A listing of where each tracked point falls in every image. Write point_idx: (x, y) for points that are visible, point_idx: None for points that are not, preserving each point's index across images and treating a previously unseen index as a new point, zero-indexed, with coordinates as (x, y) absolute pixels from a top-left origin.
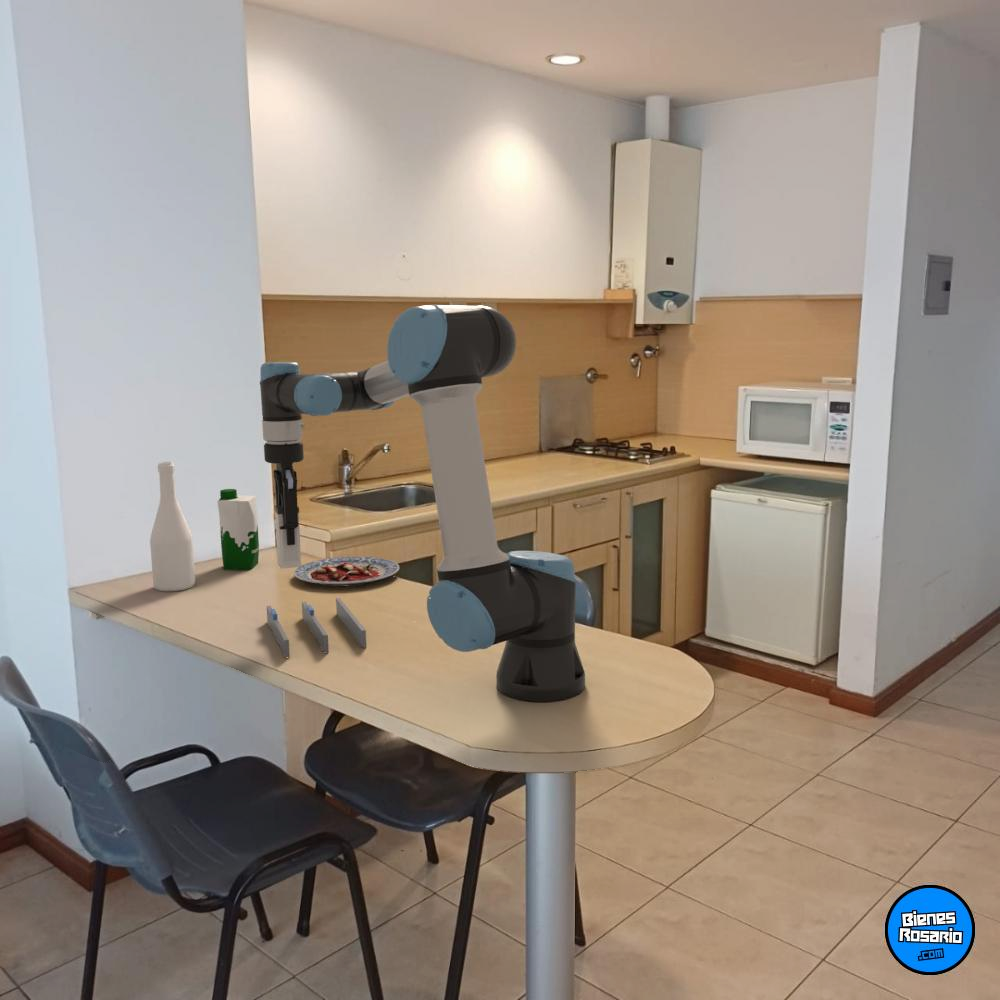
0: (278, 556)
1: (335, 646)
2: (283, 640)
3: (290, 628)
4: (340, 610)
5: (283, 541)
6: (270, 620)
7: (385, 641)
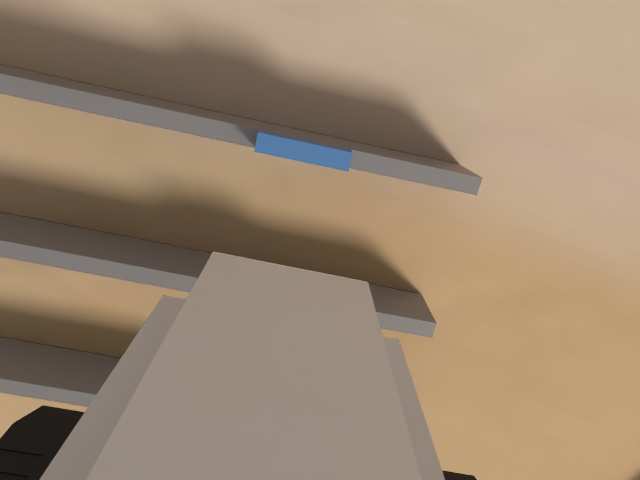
0: (311, 301)
1: (31, 267)
2: None
3: (327, 211)
4: None
5: (91, 406)
6: (363, 147)
7: (8, 415)
